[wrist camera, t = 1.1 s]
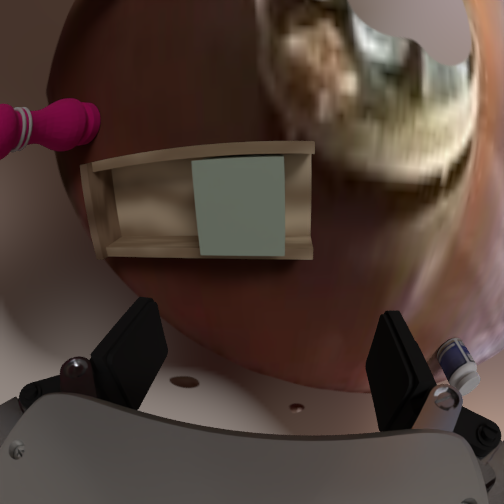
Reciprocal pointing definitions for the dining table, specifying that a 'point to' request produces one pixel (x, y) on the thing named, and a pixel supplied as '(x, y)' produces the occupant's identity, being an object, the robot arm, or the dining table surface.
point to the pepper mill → (48, 126)
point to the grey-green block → (240, 205)
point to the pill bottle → (458, 366)
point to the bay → (182, 200)
